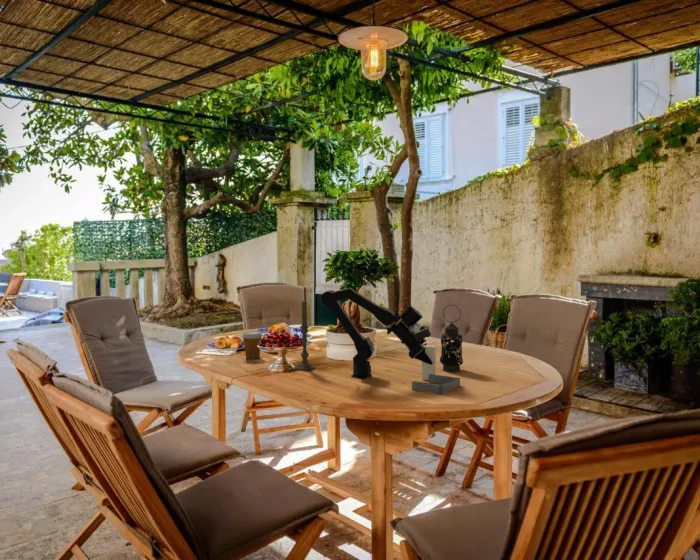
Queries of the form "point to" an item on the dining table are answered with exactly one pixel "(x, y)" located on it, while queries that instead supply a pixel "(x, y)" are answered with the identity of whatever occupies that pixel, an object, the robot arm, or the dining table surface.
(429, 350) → the post
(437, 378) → the frame
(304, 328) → the candlestick holder
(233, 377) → the dining table surface
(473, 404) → the dining table surface
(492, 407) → the dining table surface
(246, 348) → the disposable coffee cup
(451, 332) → the lantern
